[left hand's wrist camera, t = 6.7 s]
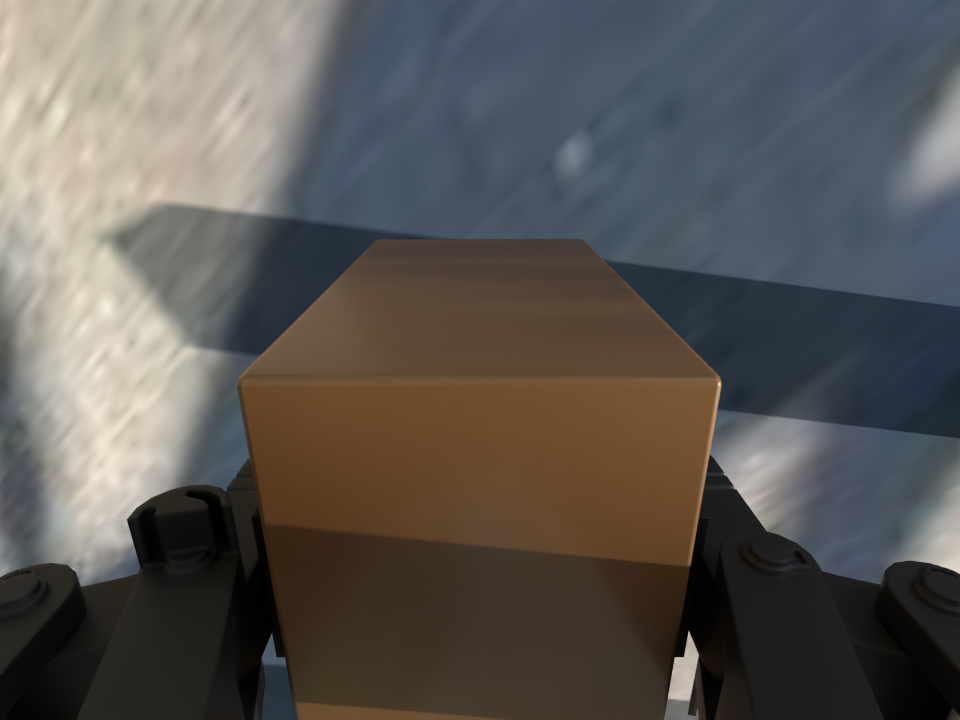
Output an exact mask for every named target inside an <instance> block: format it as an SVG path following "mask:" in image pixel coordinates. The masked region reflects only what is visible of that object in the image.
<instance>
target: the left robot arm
mask: <svg viewBox="0 0 960 720" xmlns="http://www.w3.org/2000/svg"><path fill="white" fill-rule="evenodd" d="M127 522H128V525H129V529H130V532H131V536H132V539H133V543H134V546H135V550H136V553H137V557H138V561H139V564H140V570H139V572H138V574H135V575H132V576H128V577H124V578H120V579H115V580H111V581H106V582H102V583H97V584H93V585H88V586H83V587H81V586H80V583H79V580H78V577H77V574H76V572H75V571H74V570H72V569H71V568H70V567H69V566H67V565H62V564H55V563H48V564H41V565H33V566H29V567H26V568H22V569H20V570H16V571H13V572H10V573H8V574H6V575H4V576H2V577H0V720H261V716H262V706H263V697H264V687H265V675H264V668H263V663H262V658H261V657H262V655H263V652H264V650H265V648H266V645H267V643H268V640H269V638H270V636H271V633H272V634H273V640H274V645H275V651H276V656H277V657H285V653H284V648H283V642H282V637H281V631H280V625H279V620H278V614H277V608H276V603H275V597H274V592H273V586H272V580H271V575H270V569H269V563H268V558H267V552H266V547H265V541H264V535H263V530H262V524H261V518H260V513H259V507H258V501H257V496H256V490H255V485H254V479H253V473H252V468H251V462H250V458H249V459H248V460H247V461H246V462H245V464H244V465H243V467H242V468H241V469H240V471H239V472H238V473H237V477H236V478H234V479H233V480H232V482H231V483H230V485H229V486H228V487H227V491H224V490H223V489H222V488H218V487H214V486H210V485H191V486H186V487H181V488H177V489H172V490H169V491H167V492H164V493H162V494H160V495H157V496H155V497H152V498H151V499H149V500H148V501H146V502H145V503H143V504H142V505H140V506H139V507H137V508H136V509H135V511H134V512H133V513H132V514H131V515H130V517H129V518H128V519H127ZM688 631H689V632H690V634H691V637H692V639H693V641H694V644H695V646H696V648H697V651H698V653H699V658H698V663H697V668H696V673H695V678H694V683H693V688H692V693H691V699H690V704H689V711H688V715H693V716H696V711H697V707H698V714H699V720H960V574H958V573H957V572H955V571H953V570H950V569H947V568H944V567H940V566H937V565H934V564H931V563H924V562H916V561H904V562H897V563H893V564H892V565H891V566H890V567H889V568H887V569H886V570H885V573H884V576H883V579H882V582H881V585H879V584H874V583H870V582H865V581H861V580H856V579H851V578H847V577H842V576H838V575H834V574H830V573H827V572H823V571H821V569H820V567H819V565H818V564H817V562H816V561H815V560H814V558H813V557H812V555H811V554H810V553H808V552H807V551H806V550H804V549H803V548H802V547H801V546H799V545H798V544H797V543H795V542H793V541H791V540H789V539H786V538H784V537H782V536H780V535H778V534H774V533H770V532H767V531H766V530H765V529H764V527H763V526H762V524H761V523H760V522H759V520H758V519H757V517H756V516H755V515H754V513H753V512H752V511H751V509H750V508H749V506H748V505H747V504H746V502H745V501H744V500H743V498H742V497H741V495H740V494H739V493H738V491H737V490H736V489H734V486H733V484H732V483H731V482H730V480H729V479H728V477H727V476H724V472H723V471H722V469H721V468H720V466H719V465H718V464H717V462H716V461H715V459H714V458H713V457H712V456H710V455H709V461H708V466H707V472H706V478H705V484H704V490H703V495H702V501H701V507H700V513H699V519H698V524H697V530H696V536H695V542H694V548H693V553H692V559H691V565H690V571H689V577H688V582H687V588H686V594H685V600H684V606H683V612H682V617H681V623H680V629H679V635H678V641H677V646H676V652H675V657H684V653H685V647H686V642H687V637H688Z"/></svg>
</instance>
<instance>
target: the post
mask: <svg viewBox="0 0 960 720" xmlns="http://www.w3.org/2000/svg"><path fill="white" fill-rule="evenodd" d="M721 384H722V383H721V379H720V377H719V376H718V374H717V373H716V372H715V371H714V370H713V369H712V368H711V367H710V366H709V365H708V364H707V363H706V362H705V361H704V360H703V359H702V358H701V357H700V356H699V355H698V354H697V353H696V352H695V351H694V350H693V349H692V348H691V347H690V346H689V345H688V344H687V343H686V342H685V341H684V340H683V339H682V338H681V337H680V336H679V335H678V334H677V333H676V332H675V331H674V330H673V329H672V328H671V327H670V326H669V325H668V324H667V323H666V322H665V321H664V320H663V319H662V318H661V317H660V316H659V315H658V314H657V313H656V312H655V311H654V310H653V309H652V308H651V307H650V306H649V305H648V304H647V303H646V302H645V301H644V300H643V299H642V298H641V297H640V296H639V295H638V294H637V293H636V292H635V291H634V290H633V289H632V288H631V287H630V286H629V285H628V284H627V283H626V282H625V281H624V280H623V279H622V278H621V277H620V276H619V275H618V274H617V273H616V272H615V271H614V270H613V269H612V268H611V267H610V266H609V265H608V264H607V263H606V262H605V261H604V260H603V259H602V258H601V257H600V256H599V255H598V254H597V253H596V252H595V251H594V250H593V249H592V248H591V247H590V246H589V245H588V244H587V243H586V242H585V241H584V240H582V239H378V240H376V241H375V242H374V243H373V244H372V245H371V246H370V247H369V248H368V249H367V250H366V251H365V252H364V253H363V254H362V255H361V256H360V257H359V258H358V259H357V260H356V261H355V262H354V263H353V264H352V265H351V266H350V267H349V268H348V269H347V270H346V271H345V272H344V273H343V274H342V275H341V276H340V277H339V278H338V279H337V280H336V281H335V282H334V283H333V284H332V285H331V286H330V287H329V288H328V289H327V290H326V291H325V292H324V293H323V294H322V295H321V296H320V297H319V298H318V299H317V300H316V301H315V302H314V303H313V304H312V305H311V306H310V307H309V308H308V309H307V310H306V311H305V312H304V313H303V314H302V315H301V316H300V317H299V318H298V319H297V320H296V321H295V322H294V323H293V324H292V325H291V326H290V327H289V328H288V329H287V330H286V331H285V332H284V333H283V334H282V335H281V336H280V337H279V338H278V339H277V340H276V341H275V342H274V343H273V344H272V345H271V346H270V347H269V348H268V349H267V350H266V351H265V352H264V353H263V354H262V355H261V356H260V357H259V358H258V359H257V360H256V361H255V362H254V363H253V364H252V365H251V366H250V367H249V368H248V369H247V370H246V371H245V372H244V373H243V374H242V375H241V376H240V377H239V378H238V382H237V389H238V395H239V400H240V406H241V411H242V417H243V423H244V428H245V434H246V440H247V445H248V451H249V456H250V462H251V468H252V473H253V479H254V485H255V490H256V496H257V501H258V507H259V513H260V518H261V524H262V530H263V535H264V541H265V547H266V552H267V558H268V563H269V569H270V575H271V580H272V586H273V592H274V597H275V603H276V608H277V614H278V620H279V625H280V631H281V637H282V642H283V648H284V653H285V659H286V665H287V670H288V676H289V682H290V687H291V693H292V698H293V704H294V710H295V715H296V720H664V716H665V710H666V704H667V699H668V693H669V687H670V681H671V675H672V670H673V664H674V658H675V652H676V646H677V641H678V635H679V629H680V623H681V617H682V612H683V606H684V600H685V594H686V588H687V582H688V577H689V571H690V565H691V559H692V553H693V548H694V542H695V536H696V530H697V524H698V519H699V513H700V507H701V501H702V495H703V490H704V484H705V478H706V472H707V466H708V461H709V455H710V449H711V443H712V437H713V431H714V426H715V420H716V414H717V408H718V402H719V397H720V391H721Z"/></svg>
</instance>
